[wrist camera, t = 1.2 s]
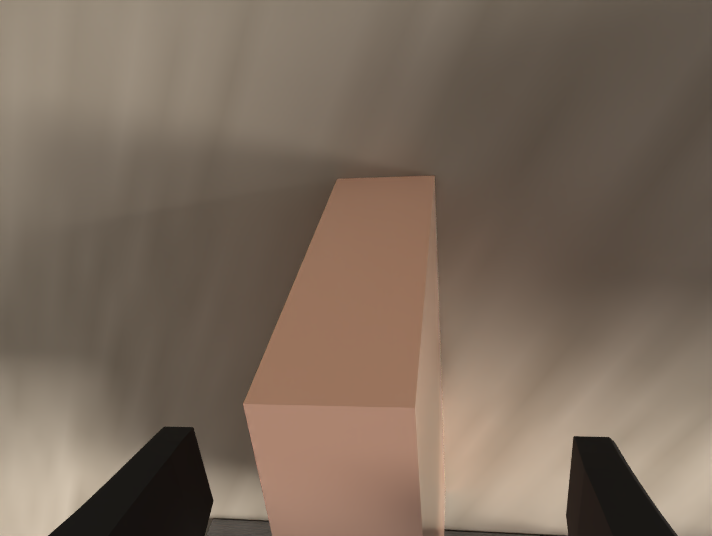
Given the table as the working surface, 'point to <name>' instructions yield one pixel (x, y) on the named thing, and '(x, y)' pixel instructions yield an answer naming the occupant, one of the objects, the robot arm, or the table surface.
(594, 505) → the robot arm
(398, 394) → the upright salmon slab
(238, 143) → the table surface
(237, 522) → the rack
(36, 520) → the table surface
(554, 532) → the table surface
